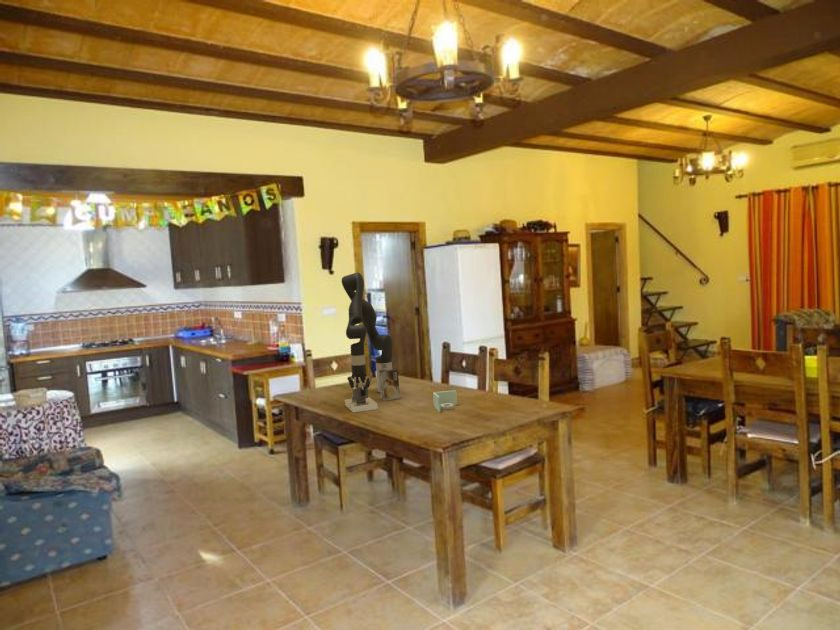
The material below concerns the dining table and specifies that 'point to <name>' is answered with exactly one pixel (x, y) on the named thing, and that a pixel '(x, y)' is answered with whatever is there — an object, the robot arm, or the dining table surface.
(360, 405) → the levelling base
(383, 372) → the coffee box
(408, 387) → the dining table surface
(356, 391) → the wing knob
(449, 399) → the right angle wall
